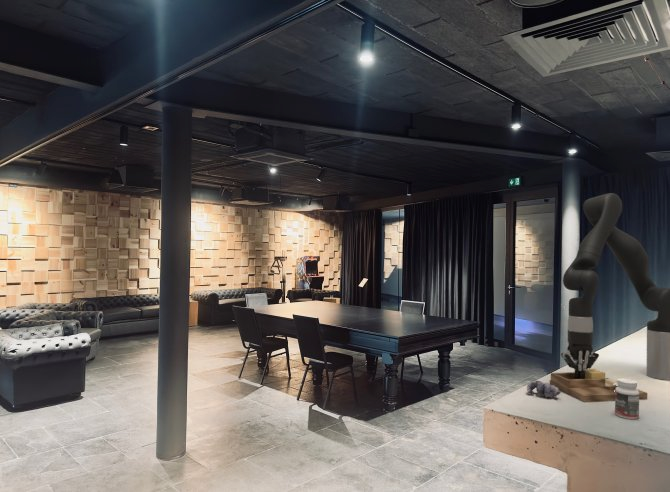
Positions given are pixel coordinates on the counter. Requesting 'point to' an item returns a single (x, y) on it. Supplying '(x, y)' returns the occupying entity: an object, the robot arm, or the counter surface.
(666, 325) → the robot arm
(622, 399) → the pill bottle
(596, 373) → the block
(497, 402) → the counter surface
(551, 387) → the seashell
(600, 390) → the wooden compartment tray
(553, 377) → the cubby
